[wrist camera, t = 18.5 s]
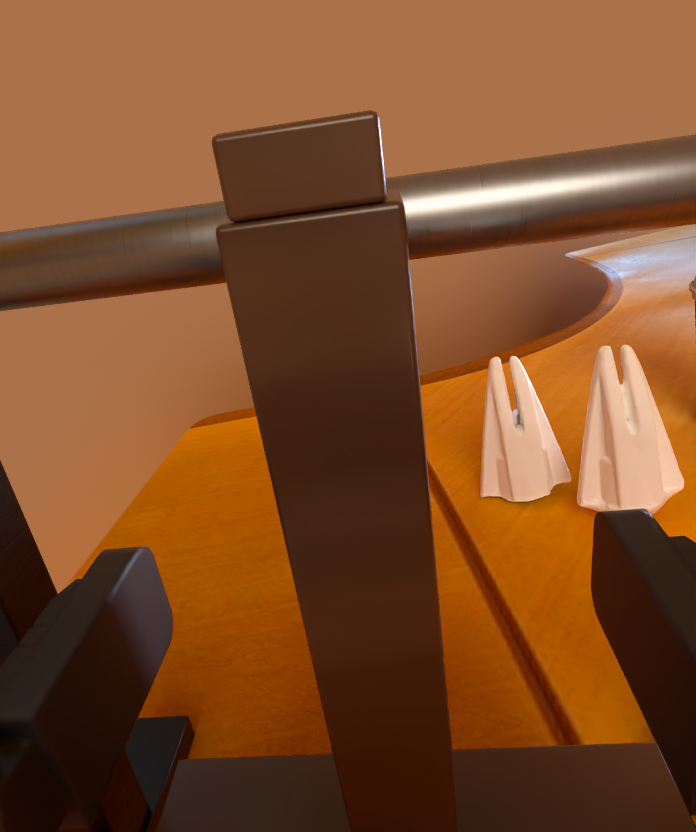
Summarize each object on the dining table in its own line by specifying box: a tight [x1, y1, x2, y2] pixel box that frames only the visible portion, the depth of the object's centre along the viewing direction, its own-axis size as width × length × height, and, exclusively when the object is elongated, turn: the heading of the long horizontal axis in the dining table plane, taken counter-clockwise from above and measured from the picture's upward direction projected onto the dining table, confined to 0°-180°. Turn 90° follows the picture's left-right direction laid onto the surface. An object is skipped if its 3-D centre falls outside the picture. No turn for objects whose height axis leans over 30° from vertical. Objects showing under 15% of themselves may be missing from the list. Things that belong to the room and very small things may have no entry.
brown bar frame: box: [155, 110, 696, 832], centre depth 14 cm, size 10×14×18 cm
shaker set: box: [480, 345, 684, 515], centre depth 36 cm, size 12×4×11 cm, turn 53°
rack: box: [0, 135, 696, 832], centre depth 15 cm, size 24×10×23 cm, turn 87°
